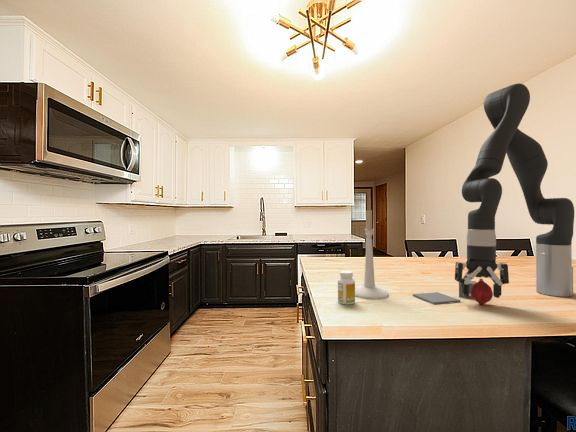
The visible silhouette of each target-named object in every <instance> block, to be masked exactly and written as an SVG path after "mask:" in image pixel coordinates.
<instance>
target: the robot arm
mask: <svg viewBox="0 0 576 432" xmlns="http://www.w3.org/2000/svg"><path fill="white" fill-rule="evenodd" d="M530 101H531V94H530V90H529V89H528V87H527V86H526V85H525V84H524V83H515V84H511V85H508V86H506V87H503V88H500V89H499V90H496V91H493V92H490V93H489V94H488V95H486V96H485V97H484V99H483V108H484V109H483V111H484V112H485V115H486V117H487V118H488V121H489V123H490V125H491V126H492V128H493V129H494V130H493V131H492V132H491V133H490V134H489V136H488V137H487V139H486V140H485V141H484V142H483V144H482V146H481V147H480V150H479V151H478V155H477V158H476V161H475V166H474V167H473V168H472V169H471V171H470V173H469V174H468V176H467V177H466V178H465V181H464V182H463V184H462V187H461V196H462V198H463V200H464V201H466V202H468V203H480V205H479V207H478V208H477V209H474V210H471V211H469V212H468V215H467V232H466V233H467V234H466V261H465V262H460V261H456V262H455V268H454V280H455V281H456V282H458V283H459V282H460V283H461V284H462V294H464V296H466V297H469V285H468V283H469V282H470V281H473V280H474V279H475V278H487V279H488V278H489V279H490V280H491V281H492V282H493V283H494V284H492V286H493V287H492V292H493V297H494V298H497V299H499V298H501V296H502V287H503V285H506V284H508V285H509V283H510V281H509V278H510V277H509V265H508V264H507V263H504V262H500V263H497V262H496V260H497V237H496V214H497V212H498V208H499V205H500V202H501V199H502V195H503V188H502V184H501V182H500V180H498V179H497V178H495V176H497V175H499V174H500V173H501V171H502V169H503V166H504V161H505V160H506V159H505V158H506V156H507V159H508V161H509V163H510V165H511V168H512V169H513V170H512V171H513V172H514V174H515V176H516V179H517V181H518V183H519V185H520V188H521V191H522V193H523V197H524V200H525V201H524V202H525V204H526V207H527V210H528V214H529V216H530V218H531V220H532V221H533V222H534V223H535V224H537V225H538V224H539V225H547V226H548V225H549V226H551V225H552V229H551V230H550V231H548V232H545V233H542V234H539V235H536V237H535V261H536V262H535V263H536V265H535V268H536V269H535V271H536V272H535V275H536V276H535V278H536V281H535V282H536V283H535V285H536V286H535V287H536V289H535V291H536V292H537V293H538V294H543V295H547V296H552V297H565V298H566V297H572V295H574V267H573V264H572V262H573V261H572V257H573V255H572V241H573V237H574V223H575V206H574V203H573V201H572V200H571V199H570V198H567V197H557V198H556V197H554V198H552V197H551V198H545V197H544V196H543V193H542V190H541V184H542V182H543V179H544V176H545V175H546V172H547V170H548V164H549V163H548V159H547V157H546V154H545V151H544V149H543V146H542V145H541V144H540V143H539V142H538V141H537V140H535V139H534V138H532V137H531V136H529V135H528V134H526V133H525V132H523V131H521V130H520V129H519V126H520V124H521V122H522V120H523V117H524V116H525V115H526V112H527V110H528V108H529V106H530V105H529V104H530ZM493 177H494V178H493ZM465 268H466V269H467V271H466V272H465V273H464V275H463V270H465ZM496 270H498V271H499V276H498V274H496V273H495V271H496Z"/></svg>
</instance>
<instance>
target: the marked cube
mask: <svg viewBox="0 0 576 432" xmlns="http://www.w3.org/2000/svg"><path fill="white" fill-rule="evenodd" d="M475 283H477V281H475V280H471V281H470V282H469V283H468V285H469V297H466V296H464V294H462V284H461V283H460V282H458V297H459V298H463V297H465V299H471V298H472V296H471V293H470V291H471V287H472V286H473V285H474V284H475ZM472 299H473V298H472ZM473 300H474V299H473Z"/></svg>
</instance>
